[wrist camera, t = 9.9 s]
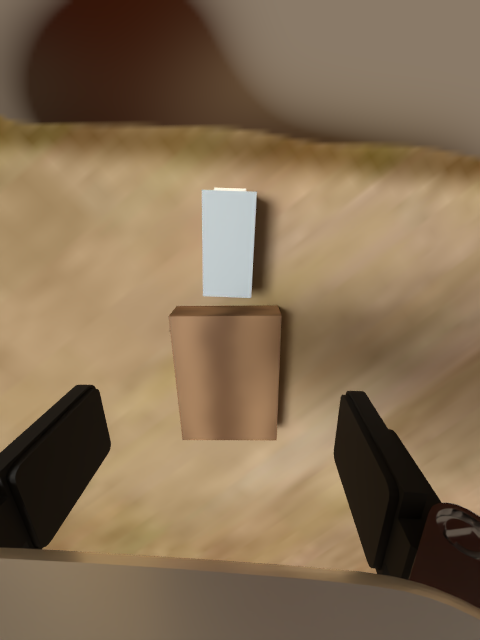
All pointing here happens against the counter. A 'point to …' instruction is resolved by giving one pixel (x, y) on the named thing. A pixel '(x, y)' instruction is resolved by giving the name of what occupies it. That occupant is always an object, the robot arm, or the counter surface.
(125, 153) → the counter surface
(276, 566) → the robot arm
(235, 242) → the block
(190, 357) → the brown box
